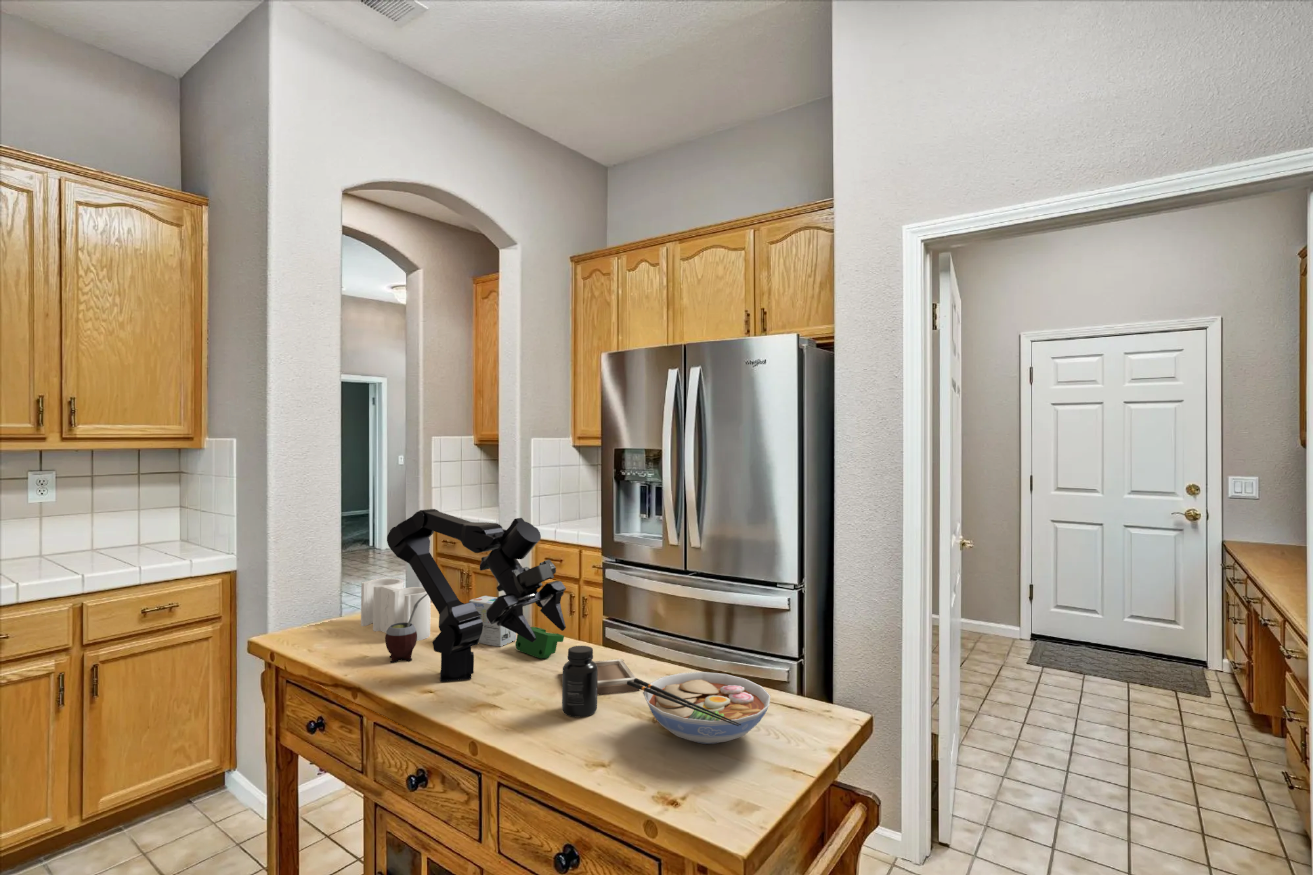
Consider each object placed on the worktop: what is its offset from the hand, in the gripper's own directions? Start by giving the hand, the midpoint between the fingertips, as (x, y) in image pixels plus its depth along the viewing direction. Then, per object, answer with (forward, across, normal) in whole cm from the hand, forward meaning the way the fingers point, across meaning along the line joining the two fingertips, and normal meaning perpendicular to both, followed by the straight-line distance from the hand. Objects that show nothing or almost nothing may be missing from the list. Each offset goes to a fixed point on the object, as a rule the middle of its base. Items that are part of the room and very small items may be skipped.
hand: (549, 634), depth 131 cm
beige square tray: (+11, +15, +8) cm, 20 cm away
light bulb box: (-17, +23, +36) cm, 46 cm away
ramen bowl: (+33, +4, -14) cm, 36 cm away
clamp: (-6, +23, +25) cm, 34 cm away
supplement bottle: (+15, 0, +4) cm, 16 cm away
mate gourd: (-22, +1, +42) cm, 47 cm away
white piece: (-37, +16, +56) cm, 69 cm away
